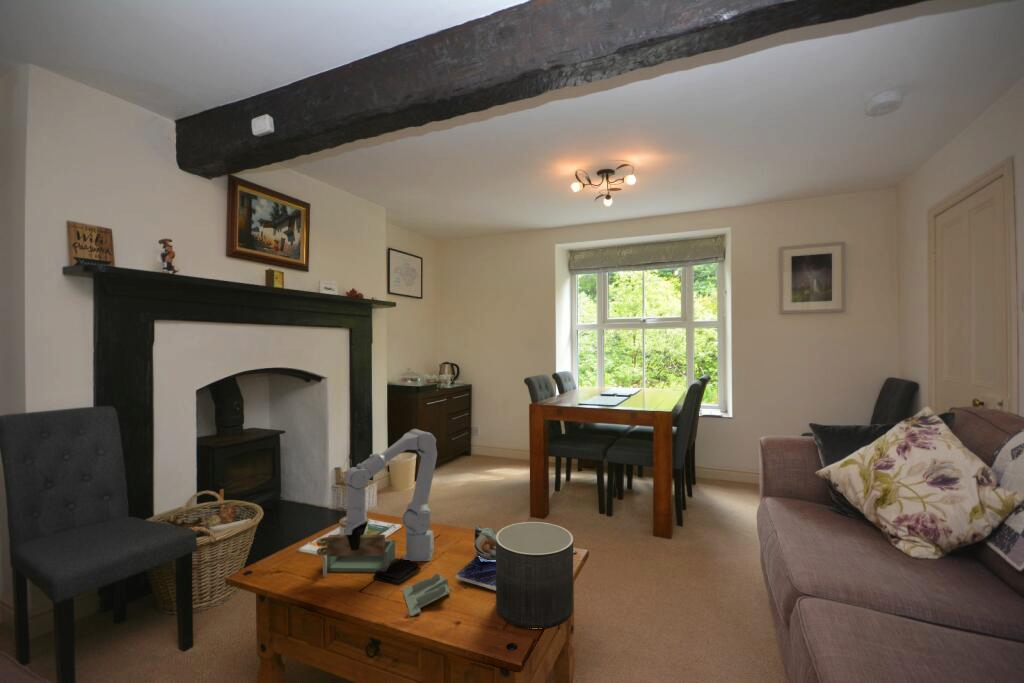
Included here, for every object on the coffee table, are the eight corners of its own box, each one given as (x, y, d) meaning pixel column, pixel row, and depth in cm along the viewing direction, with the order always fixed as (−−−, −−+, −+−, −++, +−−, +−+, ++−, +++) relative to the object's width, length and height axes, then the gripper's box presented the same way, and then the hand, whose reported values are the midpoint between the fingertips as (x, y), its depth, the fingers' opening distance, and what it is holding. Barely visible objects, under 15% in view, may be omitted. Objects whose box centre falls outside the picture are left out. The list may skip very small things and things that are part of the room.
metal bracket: (440, 564, 147) (453, 588, 133) (446, 581, 148) (458, 606, 134) (396, 586, 142) (404, 613, 128) (401, 603, 142) (410, 631, 128)
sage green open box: (395, 558, 163) (395, 540, 163) (383, 577, 150) (383, 557, 150) (338, 557, 163) (338, 539, 163) (322, 576, 150) (322, 556, 150)
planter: (551, 641, 118) (551, 562, 118) (480, 614, 130) (480, 542, 130) (585, 600, 137) (585, 531, 137) (521, 579, 148) (521, 516, 148)
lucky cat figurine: (521, 561, 160) (513, 533, 154) (491, 582, 156) (482, 554, 150) (500, 534, 173) (491, 507, 166) (471, 552, 168) (462, 525, 162)
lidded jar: (333, 544, 174) (333, 519, 174) (348, 533, 184) (348, 509, 184) (360, 546, 172) (360, 521, 172) (373, 534, 183) (373, 511, 183)
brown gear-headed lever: (386, 551, 152) (385, 533, 152) (382, 557, 148) (381, 538, 148) (320, 551, 152) (320, 533, 152) (314, 558, 148) (314, 539, 148)
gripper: (351, 498, 157) (352, 538, 157) (334, 514, 143) (334, 558, 143) (372, 498, 157) (372, 538, 157) (357, 514, 143) (357, 558, 143)
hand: (356, 548), depth 150 cm, fingers closed on brown gear-headed lever, 2 cm apart
